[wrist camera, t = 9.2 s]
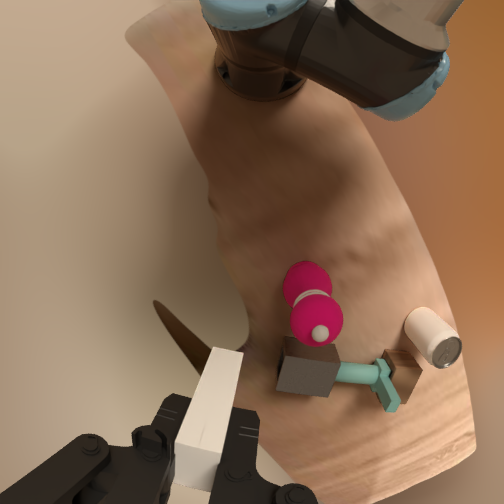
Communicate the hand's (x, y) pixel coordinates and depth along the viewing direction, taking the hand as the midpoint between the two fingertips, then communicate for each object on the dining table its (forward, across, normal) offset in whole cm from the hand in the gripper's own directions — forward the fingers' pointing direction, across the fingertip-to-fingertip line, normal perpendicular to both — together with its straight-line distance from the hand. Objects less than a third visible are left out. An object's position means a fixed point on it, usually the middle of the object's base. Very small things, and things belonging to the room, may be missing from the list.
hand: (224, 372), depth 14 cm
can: (+35, +31, -8) cm, 47 cm away
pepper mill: (+35, +8, -4) cm, 36 cm away
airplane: (+33, +22, -18) cm, 44 cm away
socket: (+34, +29, -18) cm, 48 cm away
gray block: (+34, +12, -18) cm, 40 cm away
